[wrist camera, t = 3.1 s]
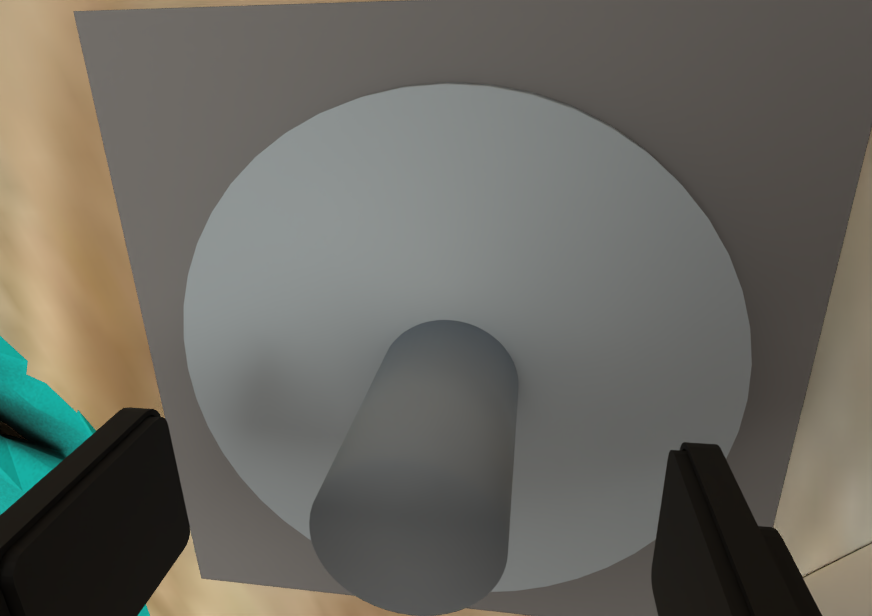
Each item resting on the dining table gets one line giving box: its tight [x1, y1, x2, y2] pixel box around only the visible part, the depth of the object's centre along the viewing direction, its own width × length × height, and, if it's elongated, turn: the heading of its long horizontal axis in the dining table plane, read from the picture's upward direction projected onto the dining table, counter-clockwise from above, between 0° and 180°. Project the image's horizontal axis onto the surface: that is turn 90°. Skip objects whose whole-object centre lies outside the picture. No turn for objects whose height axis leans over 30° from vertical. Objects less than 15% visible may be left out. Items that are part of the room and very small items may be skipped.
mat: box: [73, 0, 872, 616], centre depth 15 cm, size 16×16×1 cm
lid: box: [184, 82, 752, 616], centre depth 12 cm, size 13×13×6 cm
